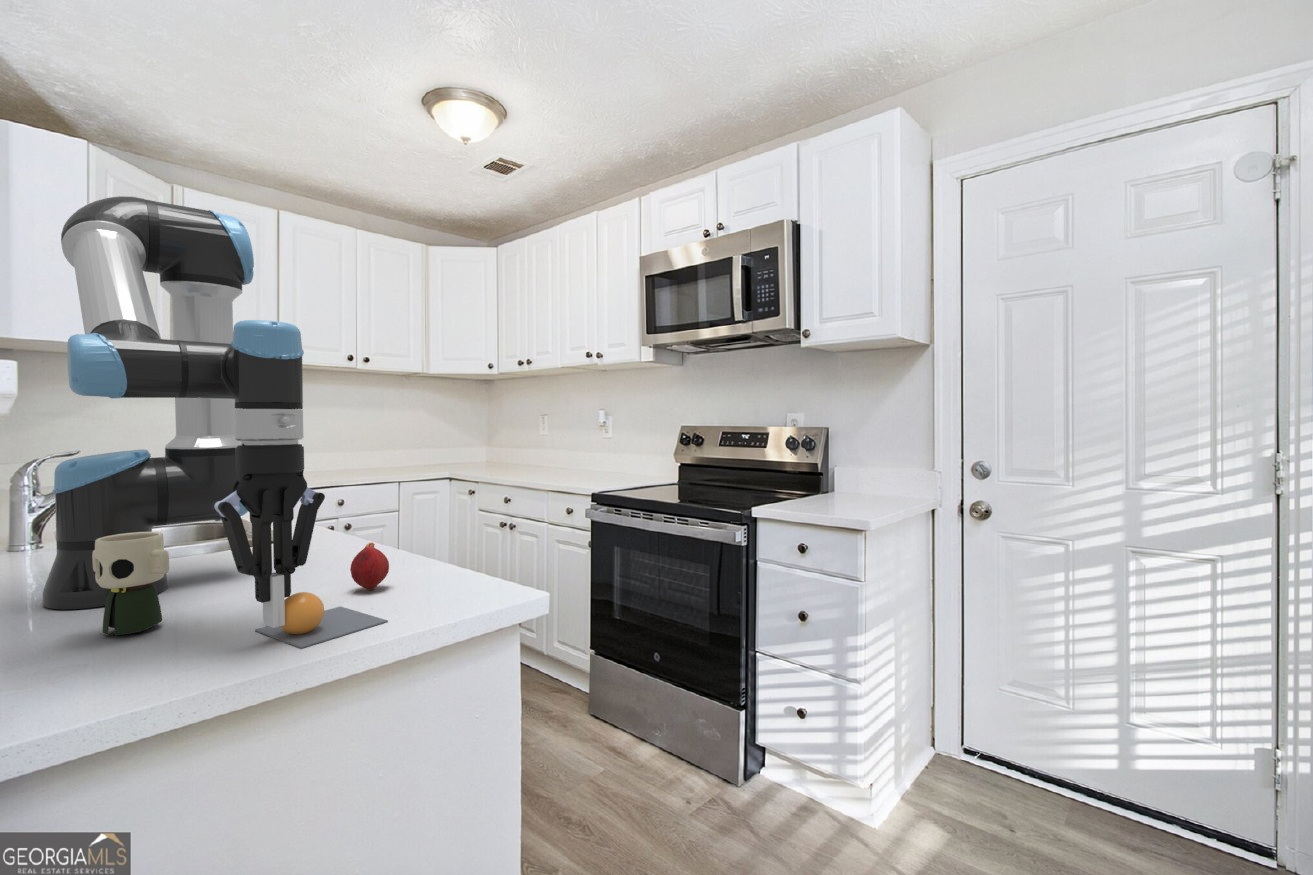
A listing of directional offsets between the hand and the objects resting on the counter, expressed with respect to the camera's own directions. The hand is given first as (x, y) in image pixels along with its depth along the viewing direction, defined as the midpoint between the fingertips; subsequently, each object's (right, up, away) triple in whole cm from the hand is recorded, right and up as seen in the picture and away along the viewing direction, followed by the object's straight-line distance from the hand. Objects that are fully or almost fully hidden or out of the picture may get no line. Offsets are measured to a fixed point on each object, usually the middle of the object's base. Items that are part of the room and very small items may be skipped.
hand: (274, 624), depth 81 cm
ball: (+2, +1, +3) cm, 3 cm away
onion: (+2, -2, +23) cm, 23 cm away
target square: (+3, -2, +6) cm, 7 cm away
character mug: (-22, -2, +4) cm, 22 cm away
